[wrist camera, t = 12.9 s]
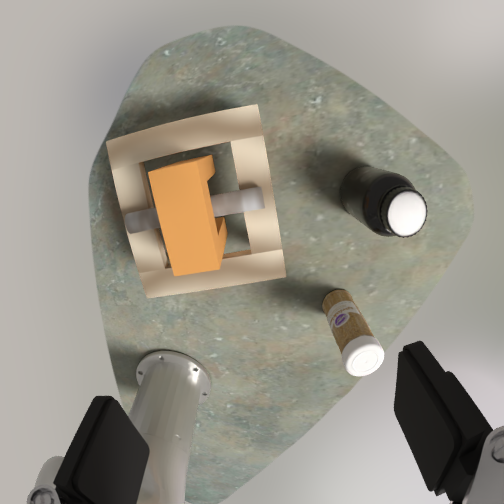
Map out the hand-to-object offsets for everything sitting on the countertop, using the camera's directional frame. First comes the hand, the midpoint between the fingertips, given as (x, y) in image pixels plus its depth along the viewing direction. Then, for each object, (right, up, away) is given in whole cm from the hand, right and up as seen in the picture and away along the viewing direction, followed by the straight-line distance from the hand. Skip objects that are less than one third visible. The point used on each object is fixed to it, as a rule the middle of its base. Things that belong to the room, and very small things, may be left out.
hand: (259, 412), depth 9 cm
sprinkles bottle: (+12, -2, +34) cm, 36 cm away
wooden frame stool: (-6, +12, +29) cm, 32 cm away
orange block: (-6, +11, +25) cm, 28 cm away
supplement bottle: (+14, +13, +29) cm, 34 cm away
